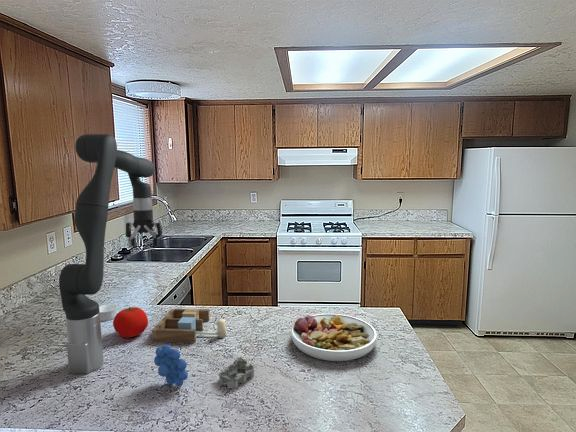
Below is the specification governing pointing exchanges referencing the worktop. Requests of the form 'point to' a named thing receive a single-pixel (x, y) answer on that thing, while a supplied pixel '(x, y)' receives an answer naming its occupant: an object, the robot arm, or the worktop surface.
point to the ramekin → (107, 312)
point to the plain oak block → (191, 313)
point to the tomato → (130, 322)
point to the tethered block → (191, 324)
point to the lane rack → (169, 327)
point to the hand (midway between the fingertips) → (144, 246)
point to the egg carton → (232, 373)
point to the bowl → (333, 337)
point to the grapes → (171, 365)
